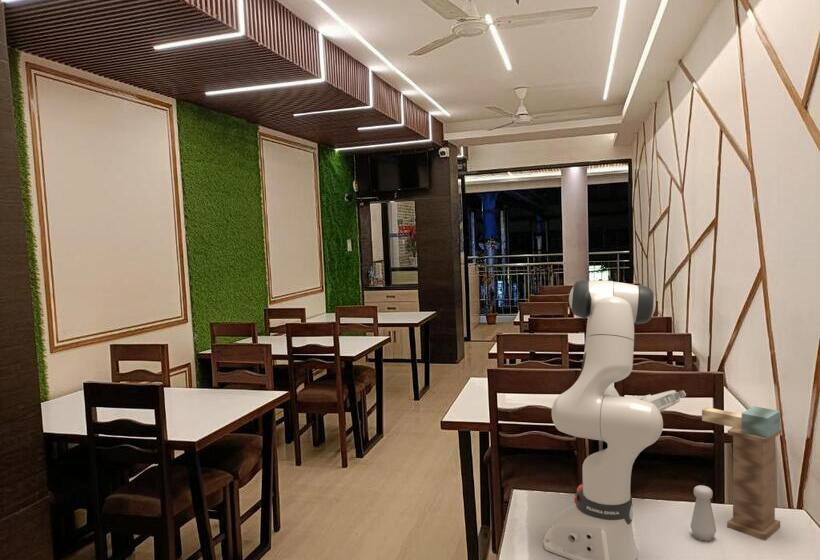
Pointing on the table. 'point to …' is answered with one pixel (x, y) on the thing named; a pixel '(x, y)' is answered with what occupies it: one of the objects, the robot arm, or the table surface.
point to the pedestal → (753, 484)
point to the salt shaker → (703, 514)
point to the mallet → (746, 420)
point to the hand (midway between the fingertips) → (675, 396)
